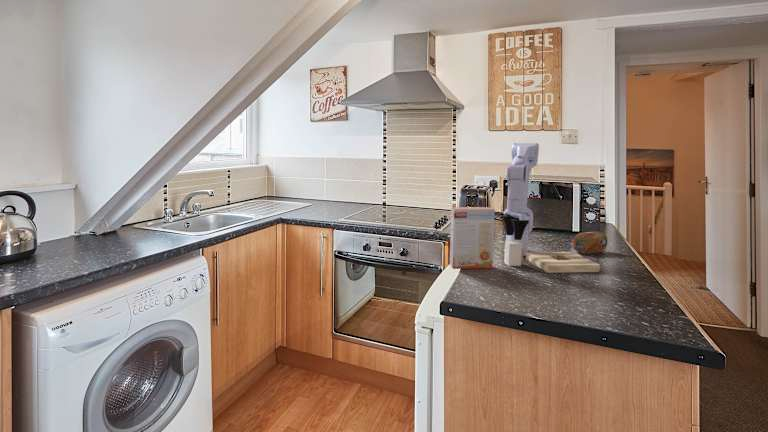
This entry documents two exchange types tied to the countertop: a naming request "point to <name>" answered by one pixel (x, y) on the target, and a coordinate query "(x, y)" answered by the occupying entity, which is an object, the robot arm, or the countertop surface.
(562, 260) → the socket plate
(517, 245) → the keyed peg
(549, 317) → the countertop surface
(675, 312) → the countertop surface
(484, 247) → the cracker box
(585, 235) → the tin
